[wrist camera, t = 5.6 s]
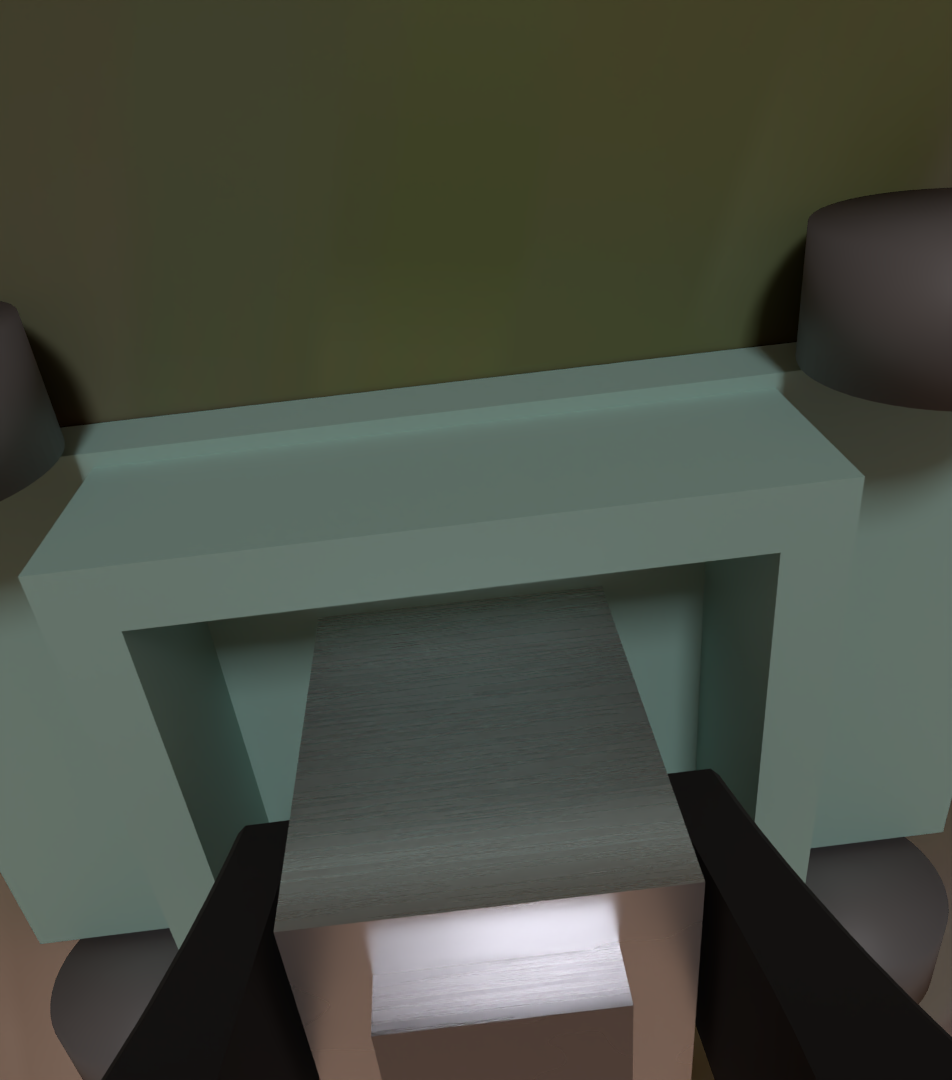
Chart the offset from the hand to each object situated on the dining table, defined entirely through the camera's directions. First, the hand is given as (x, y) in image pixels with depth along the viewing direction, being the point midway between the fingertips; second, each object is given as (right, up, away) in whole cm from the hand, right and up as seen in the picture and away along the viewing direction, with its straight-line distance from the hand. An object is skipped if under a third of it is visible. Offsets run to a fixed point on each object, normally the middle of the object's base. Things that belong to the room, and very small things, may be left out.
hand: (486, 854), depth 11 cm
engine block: (0, +1, +3) cm, 3 cm away
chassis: (0, +2, +3) cm, 4 cm away
